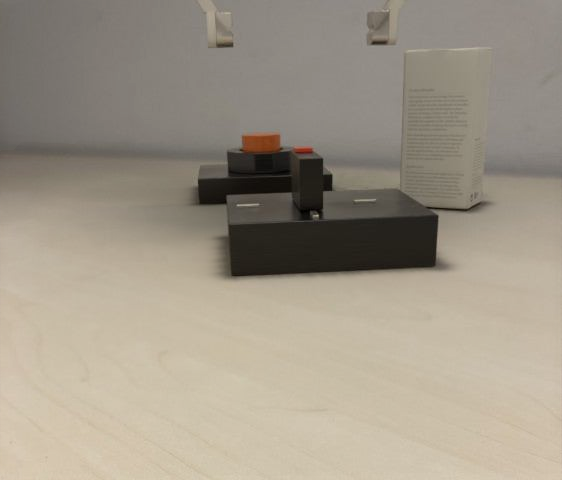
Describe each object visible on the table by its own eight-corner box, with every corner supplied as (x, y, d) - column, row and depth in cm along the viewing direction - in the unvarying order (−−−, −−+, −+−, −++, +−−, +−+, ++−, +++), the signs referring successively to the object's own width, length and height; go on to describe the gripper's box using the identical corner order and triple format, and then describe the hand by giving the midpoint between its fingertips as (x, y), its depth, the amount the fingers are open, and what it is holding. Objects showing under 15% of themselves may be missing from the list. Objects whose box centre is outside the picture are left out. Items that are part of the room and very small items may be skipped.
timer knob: (323, 209, 42) (323, 153, 41) (300, 211, 42) (299, 154, 41) (313, 197, 46) (312, 146, 45) (291, 198, 46) (290, 146, 45)
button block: (199, 204, 63) (196, 157, 61) (201, 187, 72) (198, 146, 70) (332, 198, 63) (332, 152, 62) (317, 182, 73) (317, 142, 71)
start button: (243, 156, 64) (242, 136, 64) (241, 152, 68) (241, 133, 67) (282, 155, 65) (281, 134, 64) (279, 150, 68) (278, 131, 67)
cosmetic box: (482, 202, 60) (496, 47, 55) (467, 211, 56) (480, 46, 52) (414, 198, 63) (422, 50, 58) (396, 205, 59) (402, 49, 55)
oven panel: (231, 275, 40) (228, 220, 39) (228, 238, 50) (226, 192, 48) (435, 266, 41) (439, 212, 40) (396, 231, 50) (397, 185, 49)
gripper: (80, -289, 32) (114, 48, 37) (519, -281, 33) (488, 42, 39) (100, -235, 38) (127, 50, 43) (474, -230, 39) (453, 45, 45)
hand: (301, 46), depth 41 cm, fingers open, 8 cm apart
